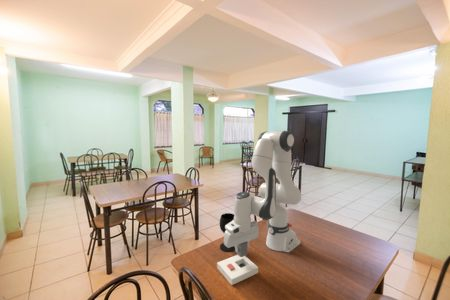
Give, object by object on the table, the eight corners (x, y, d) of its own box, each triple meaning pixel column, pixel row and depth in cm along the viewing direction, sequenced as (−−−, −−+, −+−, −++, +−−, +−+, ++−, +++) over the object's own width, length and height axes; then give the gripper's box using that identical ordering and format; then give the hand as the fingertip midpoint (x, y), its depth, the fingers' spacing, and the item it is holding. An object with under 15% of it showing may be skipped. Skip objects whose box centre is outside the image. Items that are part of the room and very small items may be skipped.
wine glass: (217, 244, 131) (217, 214, 128) (232, 241, 134) (232, 211, 132) (223, 253, 121) (223, 221, 119) (239, 250, 125) (239, 218, 122)
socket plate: (241, 257, 117) (241, 251, 117) (257, 272, 105) (258, 265, 105) (217, 267, 109) (217, 261, 109) (231, 285, 97) (231, 277, 97)
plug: (242, 251, 110) (242, 238, 110) (247, 254, 107) (247, 242, 106) (236, 253, 108) (236, 240, 107) (240, 257, 105) (241, 244, 104)
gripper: (254, 217, 114) (253, 241, 115) (222, 226, 103) (221, 252, 105) (261, 222, 109) (261, 247, 110) (228, 231, 98) (228, 259, 99)
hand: (241, 249), depth 107 cm, fingers closed on plug, 4 cm apart
